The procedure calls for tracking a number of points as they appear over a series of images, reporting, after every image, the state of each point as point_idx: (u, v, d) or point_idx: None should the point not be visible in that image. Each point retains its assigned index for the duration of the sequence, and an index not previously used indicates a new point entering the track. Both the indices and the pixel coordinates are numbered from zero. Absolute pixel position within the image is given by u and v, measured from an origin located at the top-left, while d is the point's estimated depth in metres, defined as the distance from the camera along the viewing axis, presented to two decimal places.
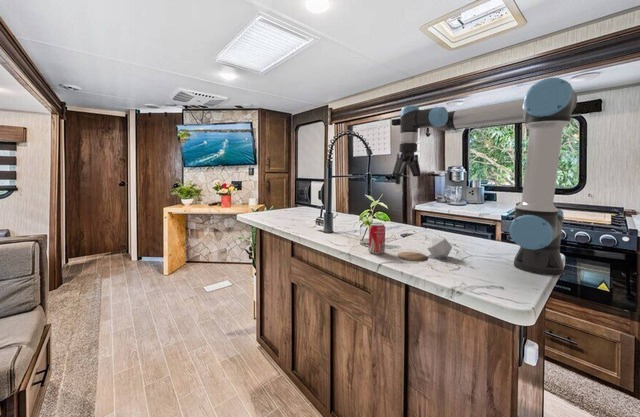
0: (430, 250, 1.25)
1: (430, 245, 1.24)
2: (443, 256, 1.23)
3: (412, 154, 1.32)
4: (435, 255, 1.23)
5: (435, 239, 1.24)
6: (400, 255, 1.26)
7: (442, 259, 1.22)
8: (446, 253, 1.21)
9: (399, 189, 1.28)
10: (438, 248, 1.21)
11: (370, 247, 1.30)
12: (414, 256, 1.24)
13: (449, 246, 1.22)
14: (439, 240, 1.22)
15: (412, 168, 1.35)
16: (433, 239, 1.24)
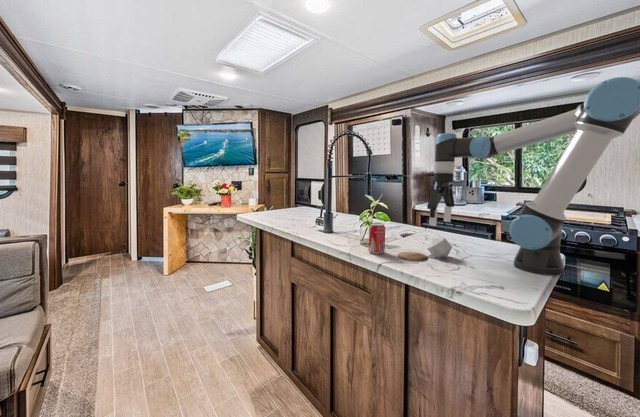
0: (430, 250, 1.25)
1: (430, 245, 1.24)
2: (443, 256, 1.23)
3: (447, 184, 1.22)
4: (435, 255, 1.23)
5: (435, 239, 1.24)
6: (400, 255, 1.26)
7: (442, 259, 1.22)
8: (446, 253, 1.21)
9: (434, 223, 1.18)
10: (438, 248, 1.21)
11: (370, 247, 1.30)
12: (414, 256, 1.24)
13: (449, 246, 1.22)
14: (439, 240, 1.22)
15: (446, 198, 1.25)
16: (433, 239, 1.24)
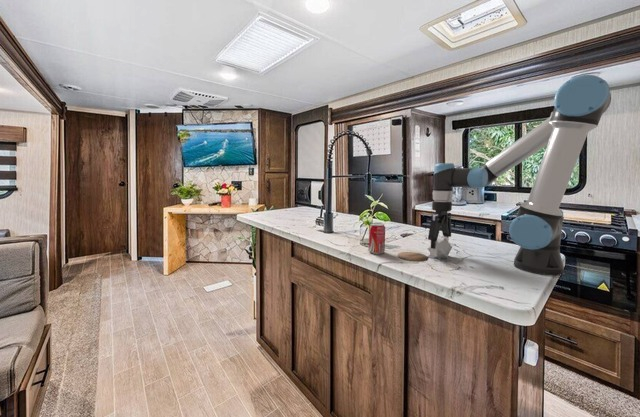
0: None
1: (430, 245, 1.24)
2: (443, 256, 1.23)
3: (446, 212, 1.23)
4: None
5: None
6: (400, 255, 1.26)
7: (442, 259, 1.22)
8: (446, 253, 1.21)
9: (434, 253, 1.21)
10: (438, 248, 1.21)
11: (370, 247, 1.30)
12: (414, 256, 1.24)
13: (449, 246, 1.22)
14: (439, 240, 1.22)
15: (444, 227, 1.26)
16: None
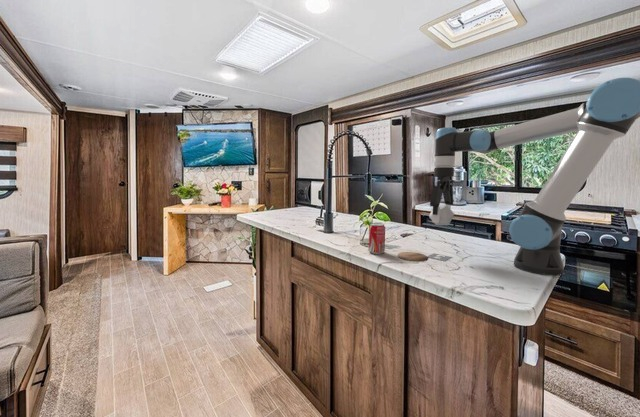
0: None
1: None
2: (445, 223, 1.21)
3: (448, 178, 1.22)
4: None
5: None
6: (400, 255, 1.26)
7: (442, 259, 1.22)
8: (448, 220, 1.20)
9: (437, 220, 1.19)
10: (440, 214, 1.19)
11: (370, 247, 1.30)
12: (414, 256, 1.24)
13: (451, 213, 1.20)
14: (441, 207, 1.20)
15: (446, 194, 1.24)
16: None
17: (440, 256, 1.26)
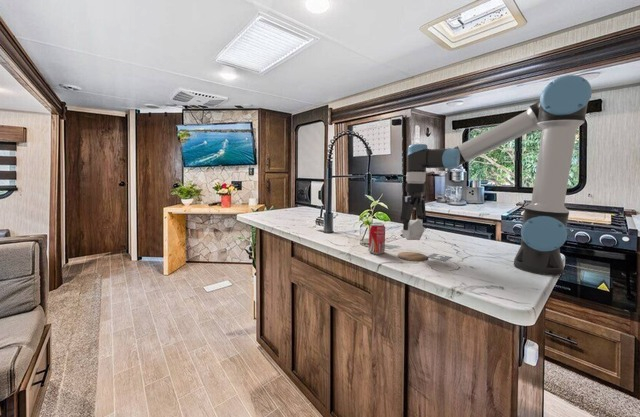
0: None
1: None
2: (416, 238, 1.22)
3: (419, 194, 1.23)
4: None
5: (409, 221, 1.23)
6: (400, 255, 1.26)
7: (442, 259, 1.22)
8: (419, 235, 1.21)
9: (407, 235, 1.20)
10: (410, 230, 1.20)
11: (370, 247, 1.30)
12: (414, 256, 1.24)
13: (422, 228, 1.21)
14: (412, 222, 1.22)
15: (418, 209, 1.25)
16: None
17: (440, 256, 1.26)
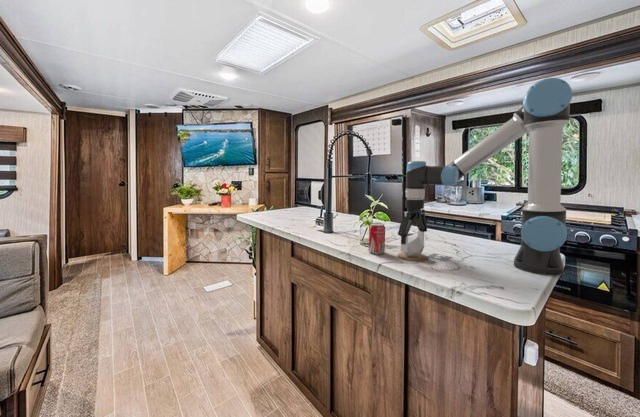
0: None
1: None
2: (415, 255, 1.23)
3: (418, 210, 1.23)
4: (408, 254, 1.23)
5: (408, 238, 1.24)
6: (400, 255, 1.26)
7: (442, 259, 1.22)
8: (418, 252, 1.21)
9: (405, 249, 1.19)
10: (410, 247, 1.21)
11: (370, 247, 1.30)
12: None
13: (421, 245, 1.22)
14: (411, 239, 1.22)
15: (419, 223, 1.26)
16: None
17: (440, 256, 1.26)
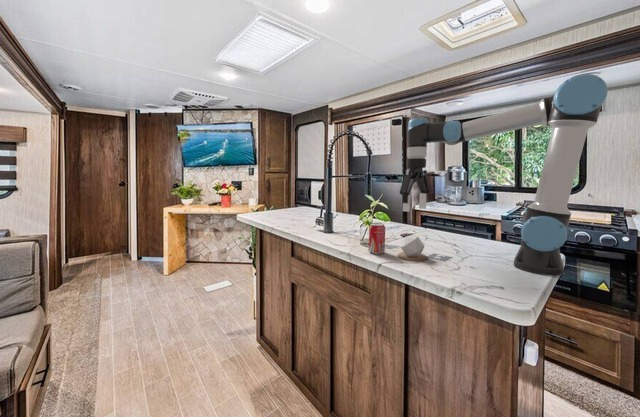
0: (403, 249, 1.25)
1: (403, 244, 1.24)
2: (415, 255, 1.23)
3: (420, 170, 1.21)
4: (408, 254, 1.23)
5: (408, 238, 1.24)
6: (400, 255, 1.26)
7: (442, 259, 1.22)
8: (418, 252, 1.21)
9: (407, 209, 1.17)
10: (410, 247, 1.21)
11: (370, 247, 1.30)
12: None
13: (421, 245, 1.22)
14: (411, 239, 1.22)
15: (421, 184, 1.24)
16: (406, 238, 1.25)
17: (440, 256, 1.26)
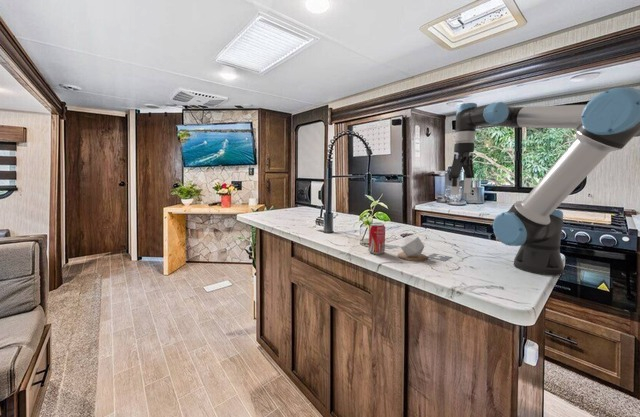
0: (403, 249, 1.25)
1: (403, 244, 1.24)
2: (415, 255, 1.23)
3: (468, 154, 1.24)
4: (408, 254, 1.23)
5: (408, 238, 1.24)
6: (400, 255, 1.26)
7: (442, 259, 1.22)
8: (418, 252, 1.21)
9: (456, 192, 1.20)
10: (410, 247, 1.21)
11: (370, 247, 1.30)
12: None
13: (421, 245, 1.22)
14: (411, 239, 1.22)
15: (467, 169, 1.27)
16: (406, 238, 1.25)
17: (440, 256, 1.26)
